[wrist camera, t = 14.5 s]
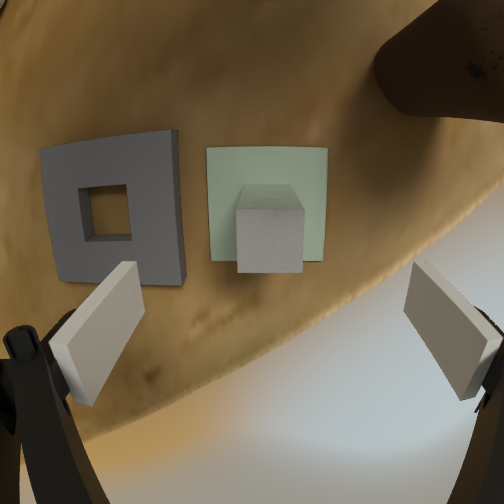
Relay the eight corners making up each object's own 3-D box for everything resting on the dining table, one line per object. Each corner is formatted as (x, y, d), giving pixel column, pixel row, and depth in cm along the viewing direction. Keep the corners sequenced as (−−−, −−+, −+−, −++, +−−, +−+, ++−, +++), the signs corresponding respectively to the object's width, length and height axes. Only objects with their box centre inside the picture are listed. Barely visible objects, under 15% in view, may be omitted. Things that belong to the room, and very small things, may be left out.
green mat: (207, 147, 31) (206, 147, 31) (326, 147, 31) (327, 147, 30) (212, 259, 35) (211, 261, 35) (321, 259, 35) (322, 260, 34)
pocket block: (51, 147, 31) (39, 149, 29) (177, 130, 30) (171, 129, 28) (69, 273, 36) (60, 281, 34) (186, 275, 36) (182, 285, 34)
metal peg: (244, 184, 32) (236, 209, 21) (289, 184, 32) (304, 209, 21) (245, 227, 33) (237, 272, 23) (289, 227, 33) (302, 272, 22)
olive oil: (434, 139, 30) (629, 180, 6) (354, 90, 28) (536, 27, 5) (461, 66, 26) (634, 43, 3) (386, 15, 25) (533, -90, 2)
